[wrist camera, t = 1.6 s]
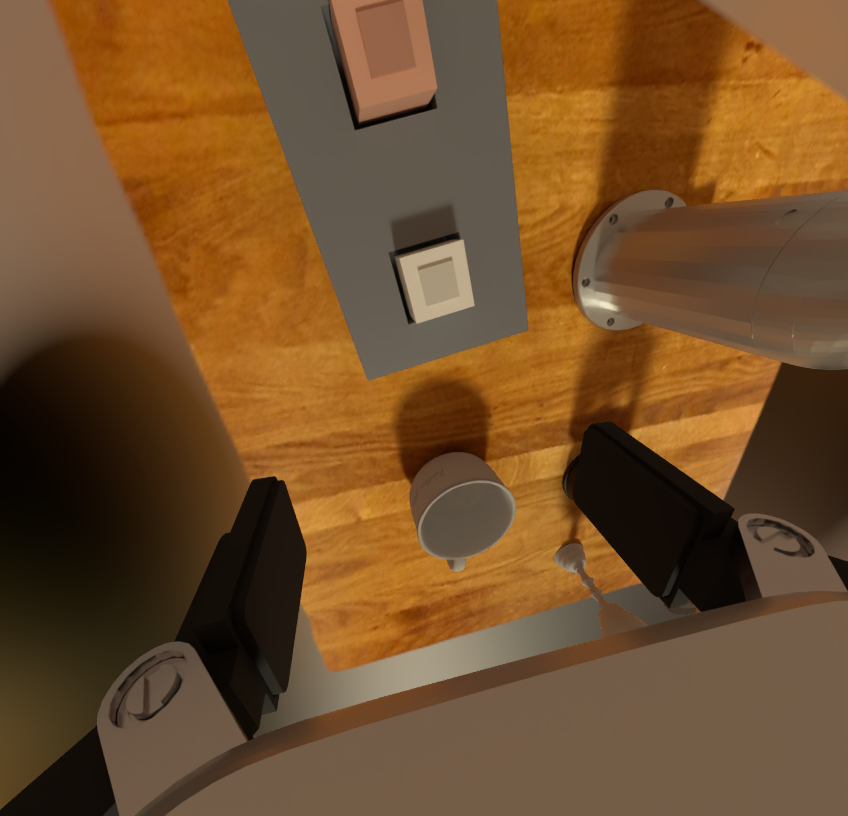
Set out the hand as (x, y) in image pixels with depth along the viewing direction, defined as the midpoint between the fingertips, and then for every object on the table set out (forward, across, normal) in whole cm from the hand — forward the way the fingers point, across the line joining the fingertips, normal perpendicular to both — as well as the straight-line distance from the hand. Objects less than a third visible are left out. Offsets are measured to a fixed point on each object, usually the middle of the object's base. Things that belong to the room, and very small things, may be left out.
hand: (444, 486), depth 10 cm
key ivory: (+19, -4, -4) cm, 19 cm away
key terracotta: (+19, -1, -16) cm, 24 cm away
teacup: (+24, -5, +21) cm, 32 cm away
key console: (+24, -2, -10) cm, 26 cm away
